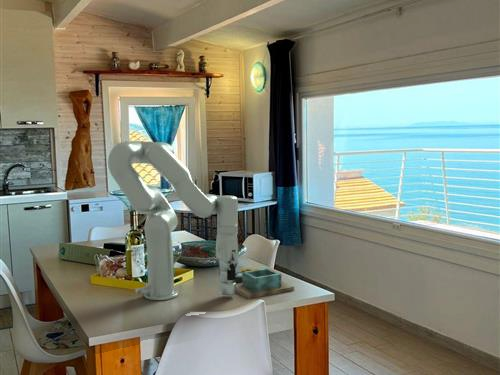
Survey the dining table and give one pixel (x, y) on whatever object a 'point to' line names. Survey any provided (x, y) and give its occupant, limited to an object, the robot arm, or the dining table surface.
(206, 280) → the dining table surface
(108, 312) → the dining table surface
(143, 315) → the dining table surface
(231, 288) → the plastic bottle
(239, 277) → the electronic device
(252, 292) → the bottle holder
